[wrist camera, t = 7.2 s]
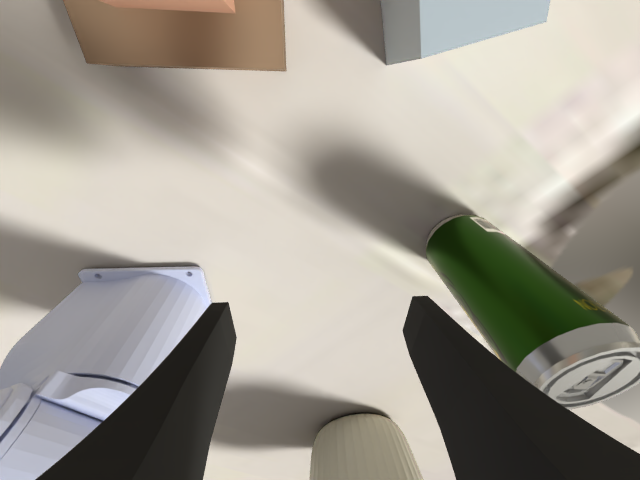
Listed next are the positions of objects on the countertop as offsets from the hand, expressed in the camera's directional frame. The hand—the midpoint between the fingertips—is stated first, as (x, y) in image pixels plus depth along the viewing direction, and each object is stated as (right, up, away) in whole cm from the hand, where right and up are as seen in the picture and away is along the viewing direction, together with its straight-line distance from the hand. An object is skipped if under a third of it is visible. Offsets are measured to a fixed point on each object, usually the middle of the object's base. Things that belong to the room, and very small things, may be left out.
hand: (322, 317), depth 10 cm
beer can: (+11, +3, +11) cm, 16 cm away
